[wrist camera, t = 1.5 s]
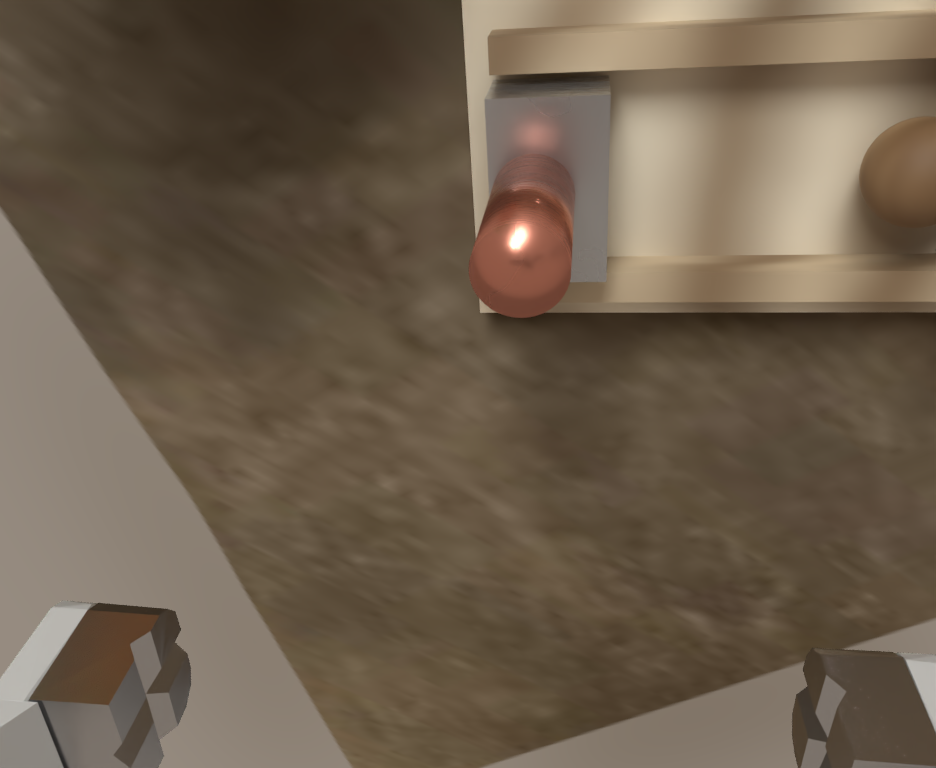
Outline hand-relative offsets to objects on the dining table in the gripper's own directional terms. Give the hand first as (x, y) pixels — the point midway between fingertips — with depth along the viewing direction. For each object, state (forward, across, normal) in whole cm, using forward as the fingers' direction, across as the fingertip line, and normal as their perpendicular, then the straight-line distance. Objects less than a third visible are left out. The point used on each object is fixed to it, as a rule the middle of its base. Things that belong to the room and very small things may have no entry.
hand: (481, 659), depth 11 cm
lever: (+24, -1, 0) cm, 24 cm away
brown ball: (+24, -13, 0) cm, 27 cm away
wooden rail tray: (+25, -8, 0) cm, 26 cm away
